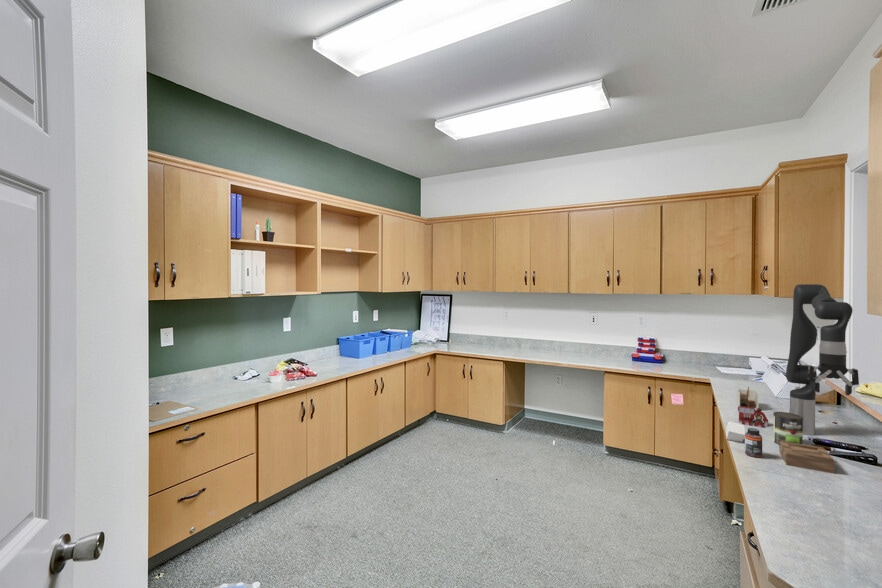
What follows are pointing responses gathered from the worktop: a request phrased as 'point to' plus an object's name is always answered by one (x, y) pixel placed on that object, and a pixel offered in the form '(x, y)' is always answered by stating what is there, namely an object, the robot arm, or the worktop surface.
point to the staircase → (747, 397)
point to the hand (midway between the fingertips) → (832, 393)
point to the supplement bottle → (753, 443)
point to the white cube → (735, 432)
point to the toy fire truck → (752, 417)
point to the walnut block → (806, 457)
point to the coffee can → (787, 428)
